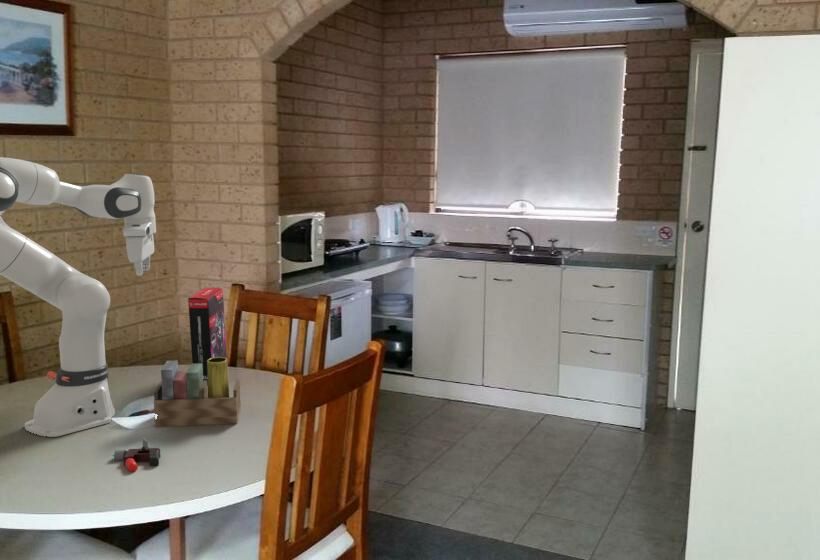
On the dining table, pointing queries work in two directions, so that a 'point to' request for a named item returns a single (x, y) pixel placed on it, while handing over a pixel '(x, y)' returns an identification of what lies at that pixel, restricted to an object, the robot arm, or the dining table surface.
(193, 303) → the graphics card box
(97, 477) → the dining table surface
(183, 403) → the wooden desk organizer
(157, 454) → the toy gun
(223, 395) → the vase
